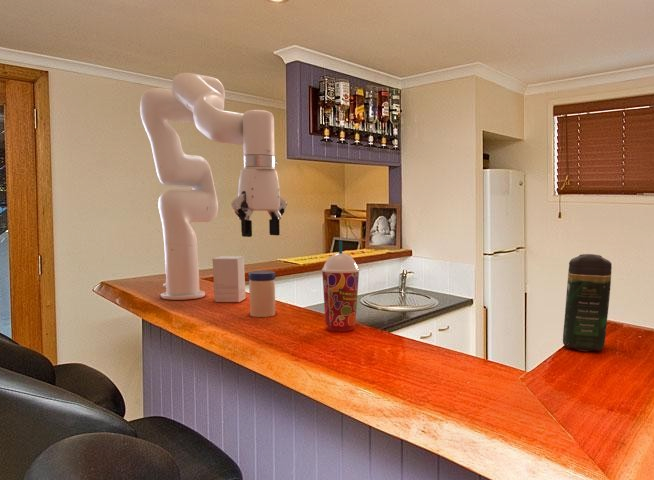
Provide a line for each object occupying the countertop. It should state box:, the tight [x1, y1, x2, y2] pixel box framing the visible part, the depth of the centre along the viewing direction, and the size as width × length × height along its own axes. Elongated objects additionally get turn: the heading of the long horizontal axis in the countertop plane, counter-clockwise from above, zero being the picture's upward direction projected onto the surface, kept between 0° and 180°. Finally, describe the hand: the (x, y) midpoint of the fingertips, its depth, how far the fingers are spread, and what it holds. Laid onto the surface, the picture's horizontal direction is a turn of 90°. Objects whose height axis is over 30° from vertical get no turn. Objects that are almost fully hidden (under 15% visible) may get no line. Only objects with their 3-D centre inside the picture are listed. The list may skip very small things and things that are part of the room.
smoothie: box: [321, 240, 360, 333], centre depth 125 cm, size 8×8×20 cm
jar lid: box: [247, 270, 276, 281], centre depth 141 cm, size 7×7×2 cm
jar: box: [248, 278, 276, 318], centre depth 141 cm, size 6×6×10 cm
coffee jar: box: [562, 253, 613, 352], centre depth 111 cm, size 10×8×19 cm
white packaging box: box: [211, 255, 247, 303], centre depth 161 cm, size 7×7×13 cm
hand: (261, 235), depth 139 cm, fingers open, 8 cm apart
